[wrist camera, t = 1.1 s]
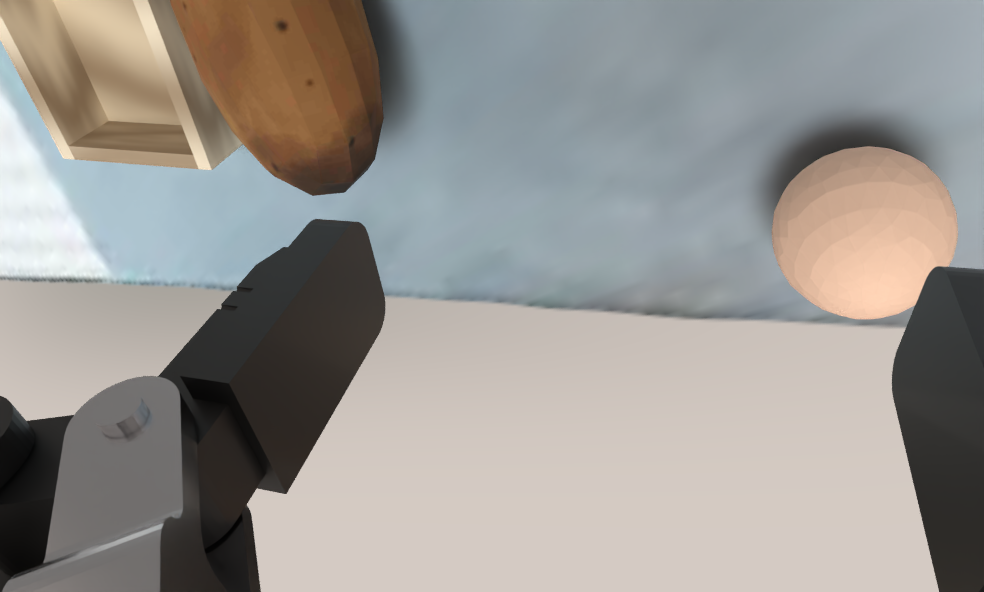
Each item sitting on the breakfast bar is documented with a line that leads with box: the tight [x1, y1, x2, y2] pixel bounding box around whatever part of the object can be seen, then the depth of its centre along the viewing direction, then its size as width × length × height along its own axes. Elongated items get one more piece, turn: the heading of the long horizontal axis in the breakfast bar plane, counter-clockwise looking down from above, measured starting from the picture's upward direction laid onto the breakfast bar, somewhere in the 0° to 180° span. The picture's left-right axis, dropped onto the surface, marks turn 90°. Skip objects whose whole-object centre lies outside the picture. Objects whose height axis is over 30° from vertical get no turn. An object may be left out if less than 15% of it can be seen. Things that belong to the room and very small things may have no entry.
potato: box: [170, 0, 383, 196], centre depth 29 cm, size 8×14×8 cm
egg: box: [772, 146, 958, 319], centre depth 27 cm, size 7×7×8 cm
